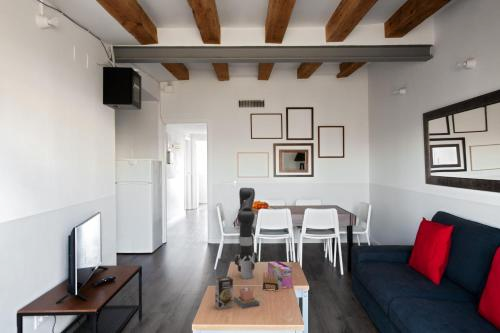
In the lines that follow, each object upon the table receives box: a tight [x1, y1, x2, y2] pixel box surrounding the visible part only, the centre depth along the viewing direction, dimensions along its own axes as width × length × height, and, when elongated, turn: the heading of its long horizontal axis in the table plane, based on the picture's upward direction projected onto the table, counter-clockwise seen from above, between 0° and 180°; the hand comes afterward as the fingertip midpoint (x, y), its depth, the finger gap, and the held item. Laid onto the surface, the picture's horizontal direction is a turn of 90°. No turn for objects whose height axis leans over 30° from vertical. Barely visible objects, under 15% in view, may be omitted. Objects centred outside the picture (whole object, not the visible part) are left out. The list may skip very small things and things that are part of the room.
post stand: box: [233, 286, 260, 310], centre depth 183 cm, size 14×11×9 cm
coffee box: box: [214, 276, 234, 310], centre depth 178 cm, size 9×6×16 cm
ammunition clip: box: [262, 271, 280, 290], centre depth 205 cm, size 11×2×12 cm, turn 74°
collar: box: [239, 286, 254, 301], centre depth 183 cm, size 6×6×6 cm
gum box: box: [267, 260, 293, 288], centre depth 219 cm, size 24×8×14 cm, turn 24°
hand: (246, 270), depth 184 cm, fingers open, 8 cm apart
